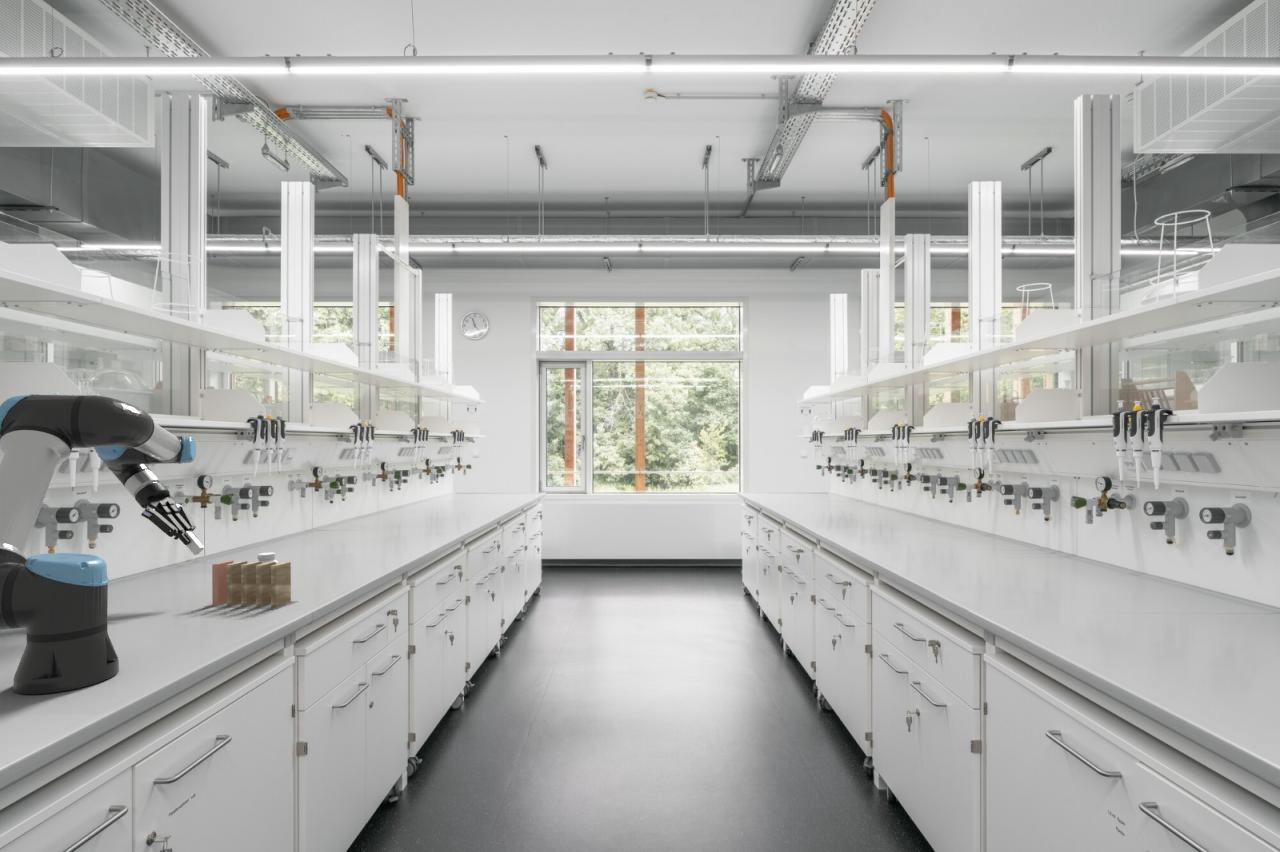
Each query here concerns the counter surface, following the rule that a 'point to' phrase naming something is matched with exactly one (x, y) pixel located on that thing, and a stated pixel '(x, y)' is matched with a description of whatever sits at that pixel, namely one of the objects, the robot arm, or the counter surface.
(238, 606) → the mat
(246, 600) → the domino
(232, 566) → the domino
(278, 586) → the domino
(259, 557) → the pill bottle
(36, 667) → the robot arm
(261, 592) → the domino
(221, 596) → the domino
